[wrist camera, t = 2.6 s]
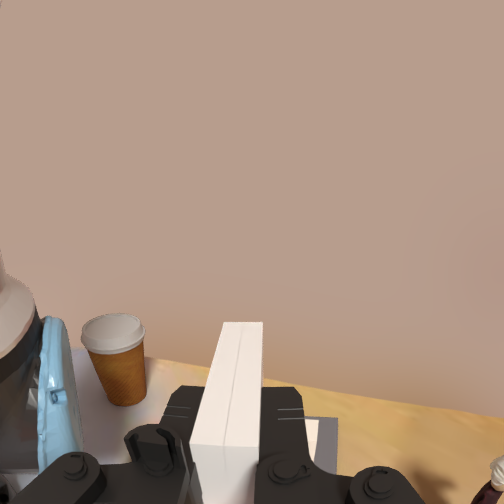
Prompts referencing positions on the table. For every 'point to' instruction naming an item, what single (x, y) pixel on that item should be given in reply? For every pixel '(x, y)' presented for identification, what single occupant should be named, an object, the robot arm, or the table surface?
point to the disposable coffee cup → (117, 356)
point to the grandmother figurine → (492, 484)
